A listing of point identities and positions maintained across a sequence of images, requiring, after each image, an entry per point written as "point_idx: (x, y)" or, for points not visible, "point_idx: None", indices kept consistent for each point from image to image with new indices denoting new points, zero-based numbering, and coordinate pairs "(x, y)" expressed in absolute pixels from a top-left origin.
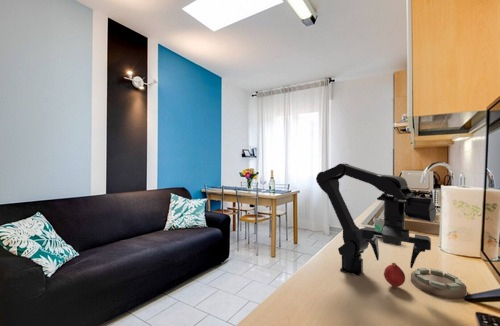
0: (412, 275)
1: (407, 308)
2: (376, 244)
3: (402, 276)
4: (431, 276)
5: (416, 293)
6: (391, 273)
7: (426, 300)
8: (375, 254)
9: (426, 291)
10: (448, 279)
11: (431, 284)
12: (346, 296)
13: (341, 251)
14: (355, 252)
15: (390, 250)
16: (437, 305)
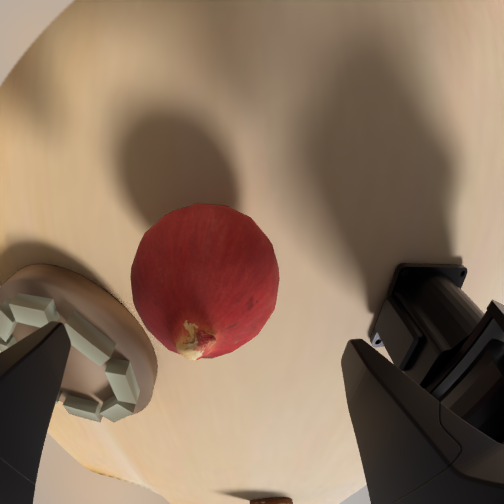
0: (140, 367)
1: (138, 33)
2: (432, 492)
3: (137, 253)
4: (86, 383)
5: (107, 235)
6: (216, 235)
7: (65, 188)
8: (401, 375)
9: (79, 277)
10: None
11: (47, 303)
12: (428, 13)
13: None
14: (493, 346)
15: (254, 477)
16: (32, 171)
